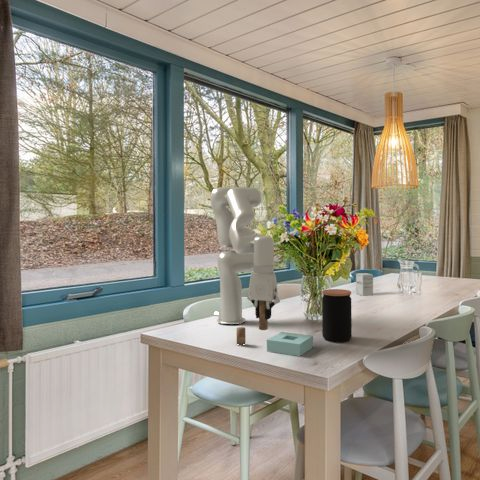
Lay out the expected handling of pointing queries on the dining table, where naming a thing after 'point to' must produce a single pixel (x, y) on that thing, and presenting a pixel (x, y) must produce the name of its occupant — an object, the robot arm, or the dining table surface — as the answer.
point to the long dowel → (262, 316)
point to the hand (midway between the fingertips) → (263, 317)
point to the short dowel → (241, 335)
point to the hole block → (290, 343)
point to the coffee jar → (336, 315)
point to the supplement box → (364, 284)
